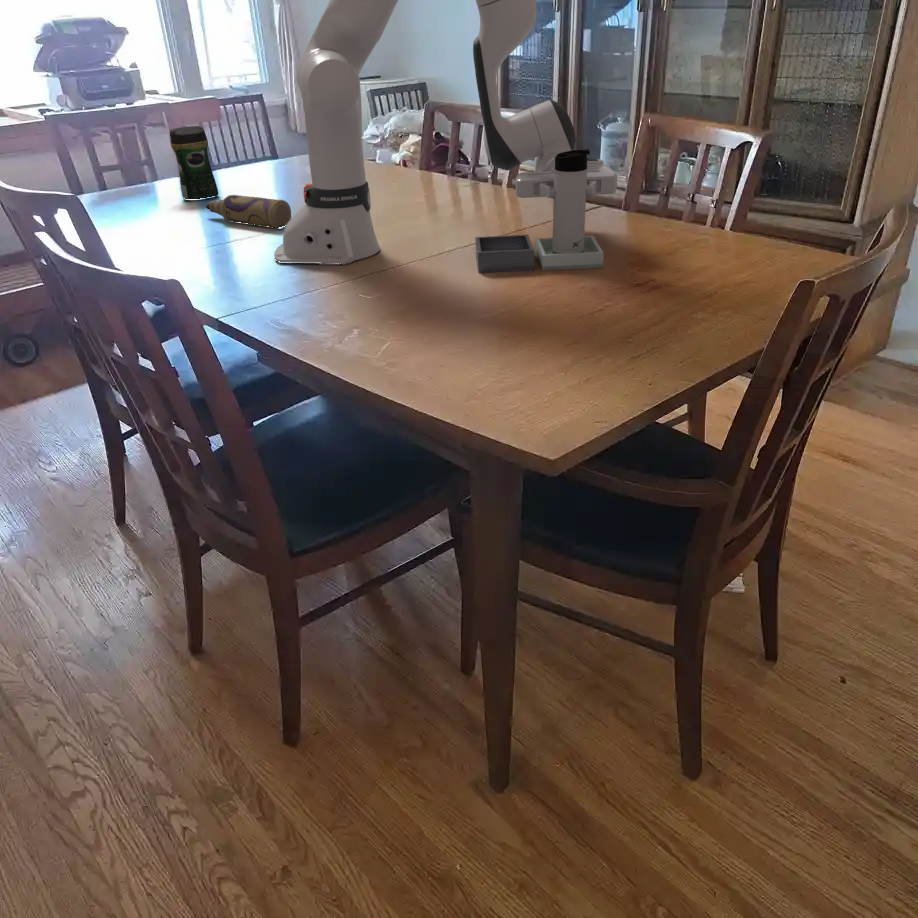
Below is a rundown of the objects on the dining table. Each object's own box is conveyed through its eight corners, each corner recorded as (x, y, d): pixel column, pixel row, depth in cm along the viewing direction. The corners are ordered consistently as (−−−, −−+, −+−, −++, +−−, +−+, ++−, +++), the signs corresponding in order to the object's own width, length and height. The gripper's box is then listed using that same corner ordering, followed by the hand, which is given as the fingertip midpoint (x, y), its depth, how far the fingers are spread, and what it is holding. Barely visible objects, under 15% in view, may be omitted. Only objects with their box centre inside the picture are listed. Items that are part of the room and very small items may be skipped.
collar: (478, 272, 156) (478, 252, 154) (475, 256, 165) (475, 237, 163) (533, 270, 156) (534, 250, 154) (528, 253, 165) (528, 234, 163)
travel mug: (583, 259, 157) (588, 153, 146) (550, 258, 158) (552, 153, 148) (586, 250, 162) (591, 147, 152) (554, 249, 163) (556, 146, 153)
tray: (542, 270, 156) (542, 255, 154) (535, 252, 166) (535, 238, 164) (602, 267, 156) (603, 252, 154) (592, 249, 166) (592, 235, 164)
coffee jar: (214, 192, 226) (200, 122, 216) (222, 198, 220) (208, 126, 210) (179, 198, 222) (164, 127, 212) (186, 203, 216) (171, 130, 206)
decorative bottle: (295, 225, 193) (291, 197, 189) (273, 233, 188) (269, 204, 184) (221, 213, 205) (216, 187, 202) (199, 221, 200) (193, 193, 196)
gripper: (510, 163, 163) (517, 178, 151) (610, 158, 163) (624, 173, 151) (510, 194, 166) (517, 211, 154) (608, 190, 166) (621, 206, 155)
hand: (570, 192), depth 153 cm, fingers closed on travel mug, 6 cm apart
